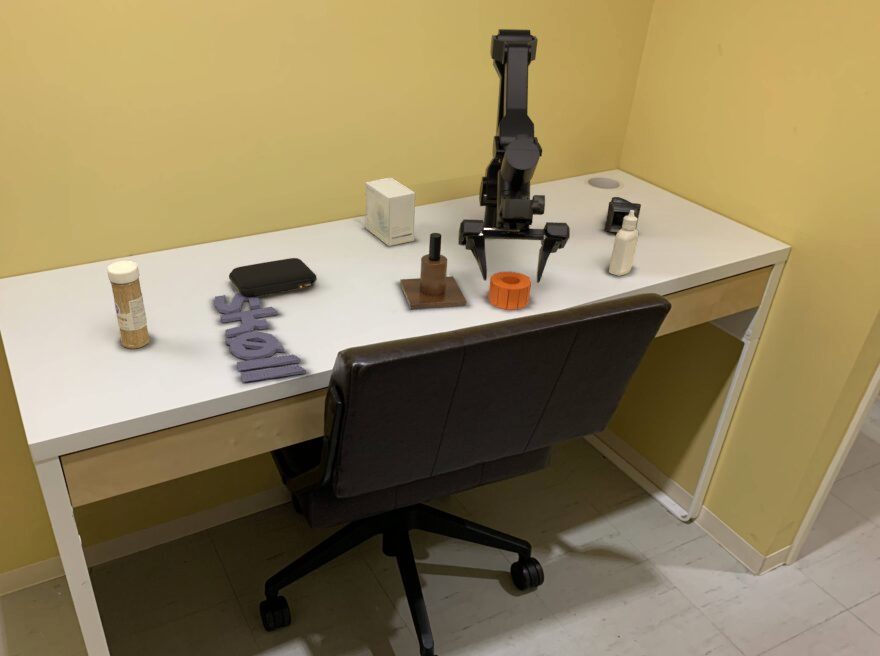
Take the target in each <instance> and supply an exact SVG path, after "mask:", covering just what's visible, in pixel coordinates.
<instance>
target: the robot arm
mask: <svg viewBox="0 0 880 656" xmlns="http://www.w3.org/2000/svg"><path fill="white" fill-rule="evenodd" d="M537 49H538V37H537V36H536V35H532V34H531V29H519V28H518V29H515V28H513V29H512V28H511V29H510V28H499V29H498V31H497V34H492V35H491V40H490V51H489V52H490V58H491V59H492V66H493V68H494V70H495V73H496V74H497V76H498V78H499V82H498V84H499V85H498V95H497V96H498V99H497V109H496V110H497V112H496V126H495V135H494V136H493V140H492V158H491V160H490V161H489V163H488V164H487V166H486V168H485V173H484V176H482V177H481V181H480V186H479V193H478V201H479V206H480V207H484V216H483V219H464V218H463V219H462V221H460V223H459V229H458V239H457V244H458V245H459V246H463V247H465V250H467V251H470V252H471V253H472V255H473V258H474V259H475V261H476V263H477V265H478V268H479V271H480V274H481V277H482V279H483V281H487V280H488V279H487V277H488V265H487V254H486V239H490V240H491V239H493V240H494V239H495V240H496V239H497V240H520V241H521V240H523V241H540V244H541V246H540V247H539V251H538V259H537V269H536V283H540V282H541V280H542V276H543V273H544V271H545V267H546V265H547V262H548V260H549V257H550V255H551V254H555V253H557V251H558V250H562V249H564V248H565V246H566V244H567V243H568V241H569V239H570V237H571V235H570V233H571V232H570V229H571V228H570V226H569V225H568V224H567V222H554V221H553V222H552V221H551V222H550V221H546V222H545V224H544V227H543V228H530V226H532V224H533V220H534V216H541V215H544V214H545V208H546V195H545V194H540V195H539V194H534V195H533V196H532V199H531V180H532V179H533V177H534V174H535V172H536V169H537V166H538V163H539V160H540V157H542V154H543V148H542V146H541V143H540V142H539V139H538V137H537V136H535V123H534V122H533V120H532V119H531V117H530V115H528V114H529V113H528V108H529V107H528V105H529V104H528V102H529V67H530V65H531V64H532V62H533V61H536V57H537Z"/></svg>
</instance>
